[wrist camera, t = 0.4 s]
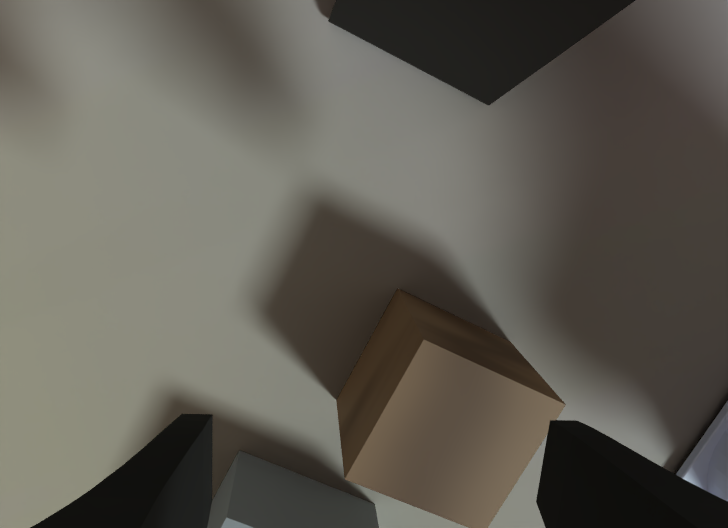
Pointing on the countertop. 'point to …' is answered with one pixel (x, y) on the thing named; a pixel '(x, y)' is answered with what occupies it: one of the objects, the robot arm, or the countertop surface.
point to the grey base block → (283, 500)
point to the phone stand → (475, 35)
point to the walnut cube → (442, 413)
